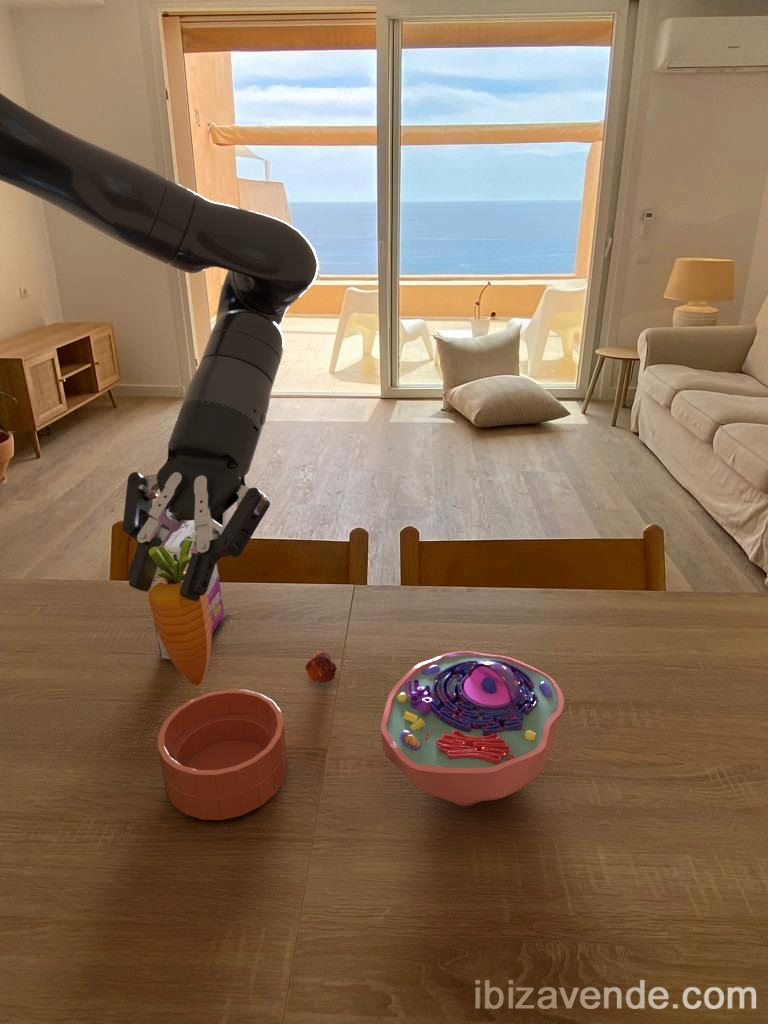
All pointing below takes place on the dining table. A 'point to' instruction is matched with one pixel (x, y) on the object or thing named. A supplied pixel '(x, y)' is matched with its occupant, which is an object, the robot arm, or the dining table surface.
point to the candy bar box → (174, 548)
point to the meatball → (321, 668)
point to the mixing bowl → (223, 754)
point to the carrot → (180, 616)
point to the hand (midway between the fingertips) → (163, 592)
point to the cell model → (471, 725)
